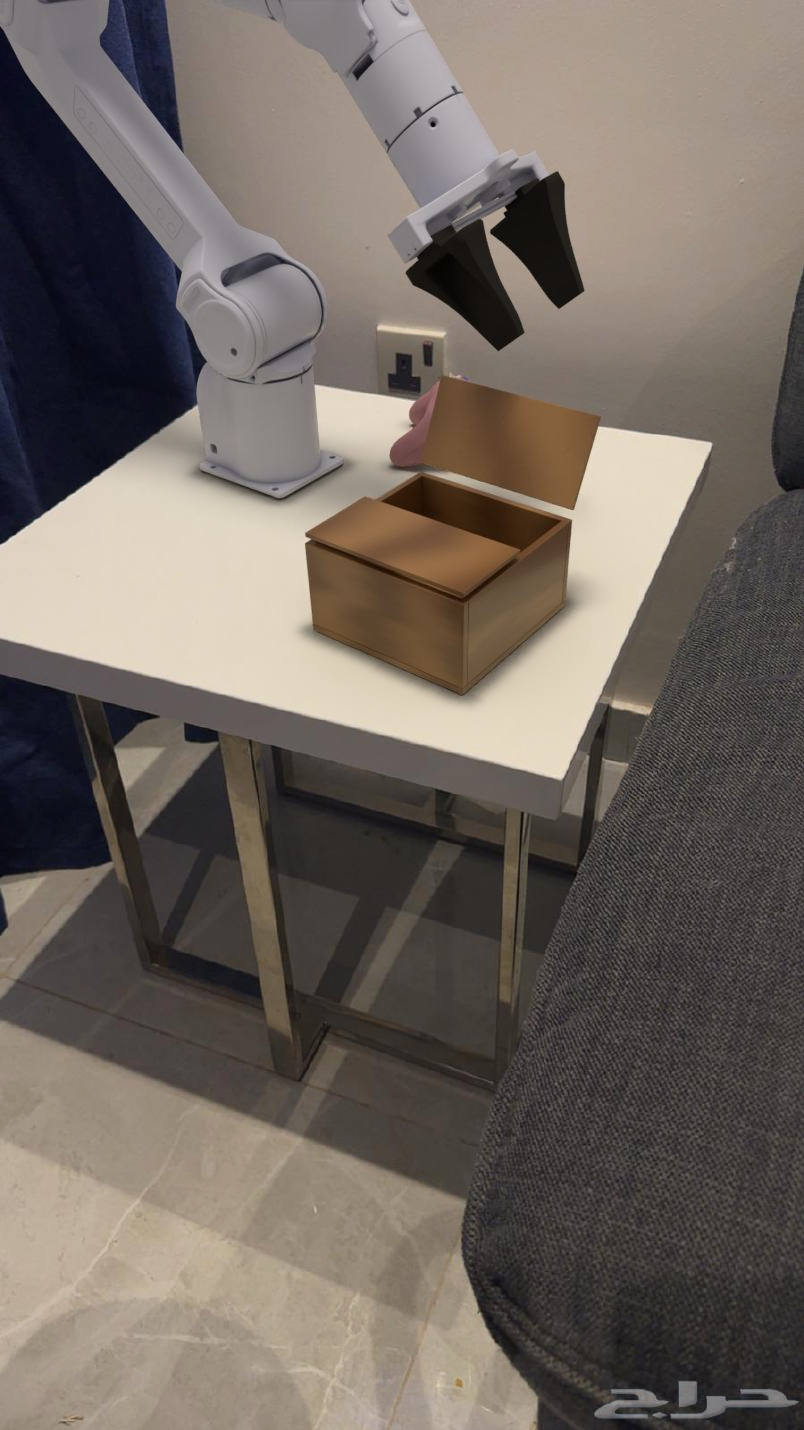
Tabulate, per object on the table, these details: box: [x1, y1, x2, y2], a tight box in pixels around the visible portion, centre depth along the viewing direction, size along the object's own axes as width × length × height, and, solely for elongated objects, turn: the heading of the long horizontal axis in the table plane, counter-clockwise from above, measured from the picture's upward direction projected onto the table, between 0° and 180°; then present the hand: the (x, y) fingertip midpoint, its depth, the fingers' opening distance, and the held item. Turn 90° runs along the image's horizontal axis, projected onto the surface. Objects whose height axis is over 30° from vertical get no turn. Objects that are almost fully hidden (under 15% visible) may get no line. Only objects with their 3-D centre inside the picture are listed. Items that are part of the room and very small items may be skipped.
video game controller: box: [389, 371, 473, 468], centre depth 87 cm, size 10×5×7 cm, turn 168°
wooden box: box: [304, 471, 573, 696], centre depth 66 cm, size 12×12×7 cm
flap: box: [420, 374, 602, 511], centre depth 67 cm, size 12×6×1 cm
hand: (542, 320), depth 67 cm, fingers open, 7 cm apart
